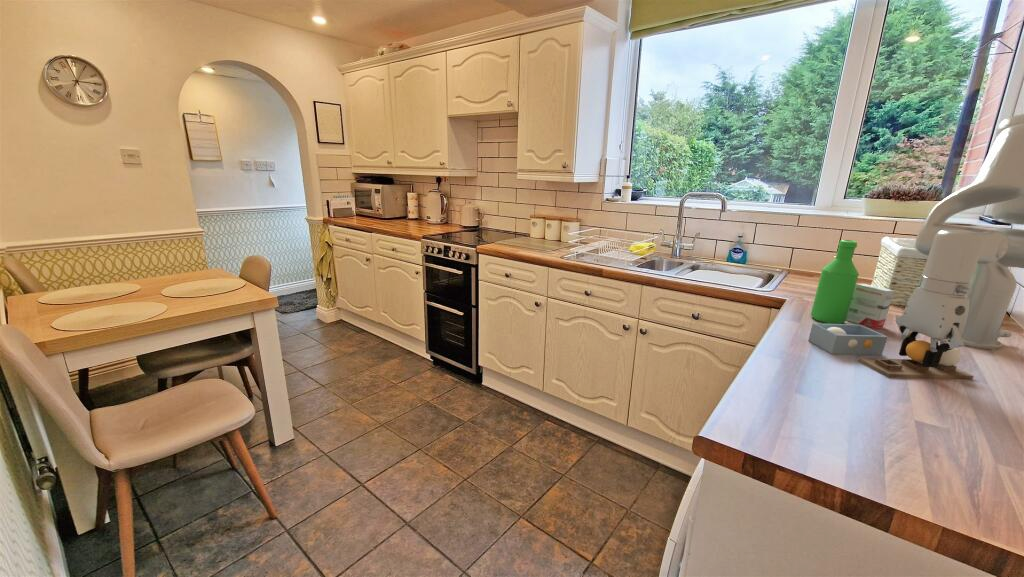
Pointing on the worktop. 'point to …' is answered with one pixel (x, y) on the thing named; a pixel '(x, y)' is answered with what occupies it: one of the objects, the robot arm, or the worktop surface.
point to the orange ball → (917, 350)
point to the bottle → (836, 286)
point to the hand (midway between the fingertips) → (917, 360)
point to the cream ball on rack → (950, 357)
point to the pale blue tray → (848, 339)
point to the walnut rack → (913, 369)
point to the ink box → (869, 305)
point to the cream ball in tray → (837, 330)
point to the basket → (899, 268)
